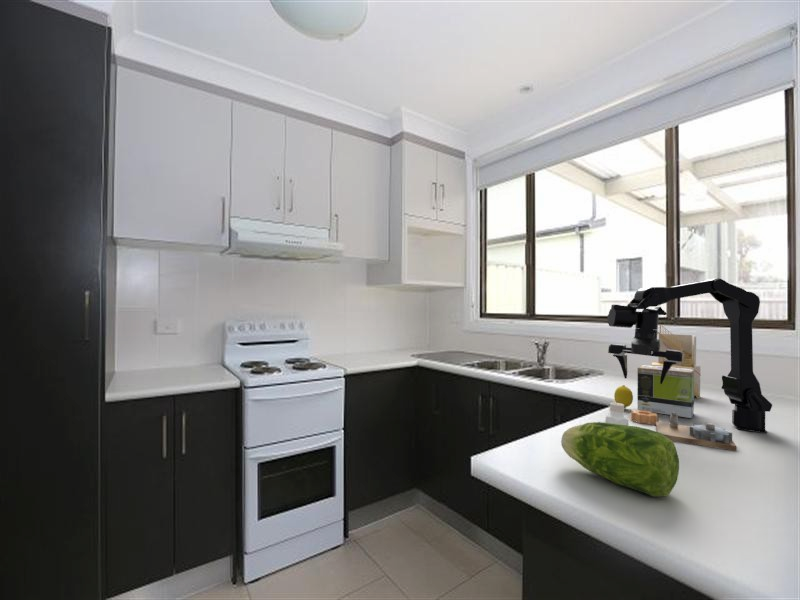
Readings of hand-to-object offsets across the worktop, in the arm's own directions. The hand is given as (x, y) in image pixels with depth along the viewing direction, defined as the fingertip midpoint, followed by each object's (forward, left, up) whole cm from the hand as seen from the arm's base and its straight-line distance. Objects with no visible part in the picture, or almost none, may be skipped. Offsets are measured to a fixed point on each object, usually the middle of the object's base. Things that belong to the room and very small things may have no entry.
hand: (643, 380), depth 117 cm
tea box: (-6, -20, -13) cm, 25 cm away
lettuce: (+5, +51, -13) cm, 53 cm away
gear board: (-11, +8, -13) cm, 19 cm away
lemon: (+6, -16, -13) cm, 21 cm away
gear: (0, -3, -13) cm, 13 cm away
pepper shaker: (+6, +24, -13) cm, 28 cm away
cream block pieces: (-12, -53, -13) cm, 56 cm away
